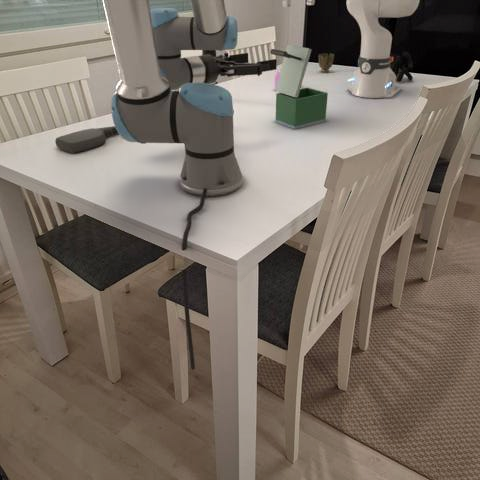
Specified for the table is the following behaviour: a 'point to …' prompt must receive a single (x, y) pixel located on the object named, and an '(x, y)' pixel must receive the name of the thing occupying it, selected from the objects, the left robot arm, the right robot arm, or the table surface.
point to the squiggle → (401, 66)
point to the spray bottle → (84, 139)
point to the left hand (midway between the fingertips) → (261, 60)
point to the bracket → (276, 78)
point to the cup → (325, 61)
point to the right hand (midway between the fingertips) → (298, 6)
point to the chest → (301, 108)
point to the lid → (292, 69)
